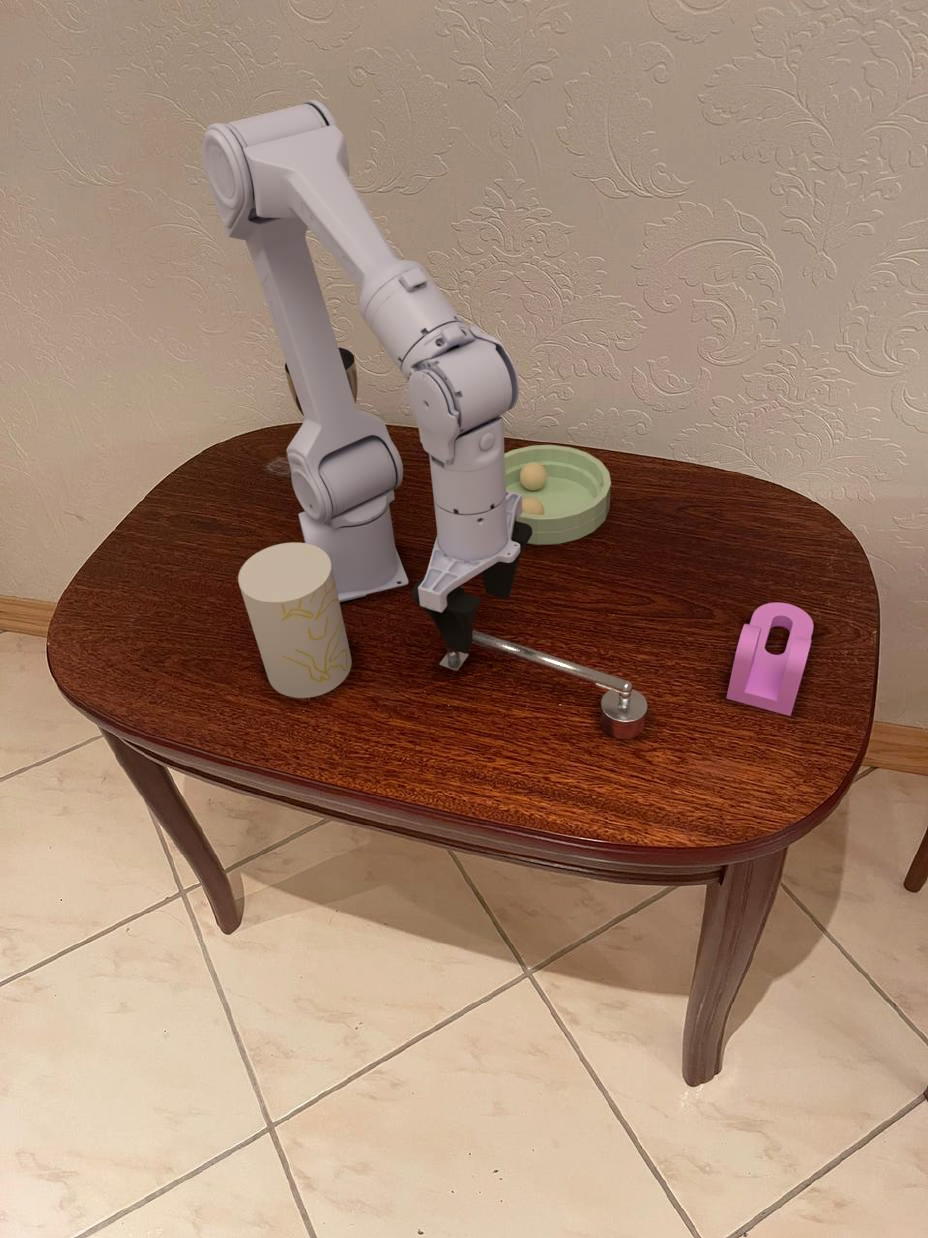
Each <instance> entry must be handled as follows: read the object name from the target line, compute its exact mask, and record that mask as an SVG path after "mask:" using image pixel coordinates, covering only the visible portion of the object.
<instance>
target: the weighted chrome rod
mask: <svg viewBox="0 0 928 1238" xmlns="http://www.w3.org/2000/svg"><path fill="white" fill-rule="evenodd" d="M472 644H473V645H477V646H479V647H482V648H485V649H487V650H488V649H489V650H492V651H494V652H497V653H500V654H503V655H506V656H509V657H512V658H515V659H517V660H521V661H524V662H527V663H530V664H532V665H536V666H539V667H541V668H544V669H548V670H550V671H554V672H557V673H559V674H562V675H565V676H567V677H571V678H574V679H577V680H580V681H583V682H586V683H588V684H591V685H595V686H598V687H601V688H604V689H607V692H605V693H604V694H603V696H602V697H601V699H600V709H599V725H600V727H601V729H602V730H603V732H604V733H606V734H607V735H608V736H610V737H612V738H615V739H618V740H630V739H634V738H636V737H638V736H640V735H641V734H642V733H643V732H644V730H645V729H646V723H647V718H648V717H647V716H648V715H647V714H648V706H649V705H648V701H647V699H646V697H645V696H644V695H643V693H641V692H639V691H638V690H637V689H634V686H633V683H632V682H631V681H630V680H627V679H624V678H622V677H618V676H615V675H612V674H609V673H606V672H603V671H600V670H597V669H594V668H590V667H589V666H588V667H587V666H585V665H582V664H580V663H575V662H572V661H570V660H567V659H564V658H561V657H557V656H554V655H551V654H548V653H545V652H542V651H539V650H536V649H534V648H530V647H527V646H525V645H521V644H518V643H515V642H512V641H508V640H506V639H502V638H500V637H496V636H495V635H491V634H488V633H484V632H481V631H479V630H475V629H473V637H472ZM445 647H446V654H445V655H444V657H443V658H442V659H441V661H440V662H439V663H438V666H440V667H443V668H446V669H448V670H451V671H455V672H458V671H459V670H460V669H461V667H462V666H463V665H464V663H465V662H466V661H467V659H468V658H469V656H470V654H469V653H468V652H467V653H466V654H464V653H462V652H459V651H456V650H453V649H450V648H447V646H446V645H445Z"/></svg>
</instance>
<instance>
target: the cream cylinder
mask: <svg viewBox="0 0 928 1238" xmlns="http://www.w3.org/2000/svg"><path fill="white" fill-rule="evenodd" d="M237 581H238V585H239V586H238V587H239V589H240V592H241V597H242V598H243V599H242V600H243V601H244V605H245V609H246V611H247V615H248V618H249V622H250V625H251V628H252V631H253V634H254V637H255V640H256V644H257V647H258V650H259V654H260V657H261V660H262V664H263V666H264V669H265V670H264V671H265V673H266V676H267V681H268V682H269V684H270V686H271V687H272V688H273V689H274V690H275V691H276V692H278V694H281V695H283V696H286V697H288V698H289V697H290V698H296V699H307V698H308V699H309V698H314V697H319V696H322V695H324V694H328V693H329V692H331V691H333V690H334V689H336V688H337V687H339V686H340V685H341V684H342V683H343V682H344V681H345V680H346V679H347V677H348V675H349V674H350V672H351V668H352V663H353V662H352V661H353V660H352V655H351V650H350V646H349V640H348V637H347V631H346V626H345V622H344V618H343V614H342V608H341V602H339V598H338V593H337V589H336V584H335V579H334V574H333V570H332V565H331V561H330V558H329V556H328V555H327V554H326V553H325V552H324V551H323V550H322V549H320V548H318V547H316V546H314V545H311V544H306V543H305V542H284V543H283V542H282V543H278V544H274V545H272V546H268V547H266V548H263V549H261V550H259V551H258V552H256V553H254V554H253V555H252V556H251V557H249V558H248V559H247V560H246V561H245V562H244V563H243V565H242V566H241V567H240V569H239V572H238V576H237Z"/></svg>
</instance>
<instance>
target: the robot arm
mask: <svg viewBox="0 0 928 1238" xmlns="http://www.w3.org/2000/svg"><path fill="white" fill-rule="evenodd" d="M201 159H202V160H201V161H202V162H201V163H202V168H203V172H204V175H205V178H206V180H207V184H208V186H209V190H210V192H211V196H212V198H213V201H214V204H215V207H216V211H217V213H218V216H219V219H220V221H221V223H222V224H223V227H224V229H225V232H226V236H227V237H228V238H232V239H237V240H241V241H245V243H246V247H247V249H248V253H249V256H250V258H251V261H252V264H253V267H254V270H255V273H256V276H257V279H258V282H259V285H260V288H261V291H262V294H263V297H264V300H265V303H266V306H267V309H268V312H269V315H270V318H271V322H272V324H273V327H274V330H275V333H276V336H277V339H278V342H279V345H280V348H281V352H282V354H283V357H284V360H285V363H287V366H288V369H289V372H290V375H291V378H292V381H293V384H294V387H295V390H296V393H297V396H298V399H299V402H300V405H301V408H302V411H303V414H304V416H303V417H304V421H303V422H302V424H301V426H300V428H299V429H298V430H297V432H296V433H295V435H294V437H293V438H292V440H291V441H289V444H288V446H287V448H286V450H285V451H286V454H287V460H288V464H289V468H290V474H291V475H290V477H291V478H290V479H291V484H292V488H293V491H294V494H295V497H296V499H297V501H298V503H299V504H300V506H301V507H302V509H303V510H304V511H302V512H299V513H297V515H298V519H299V524H300V528H301V529H300V530H301V533H302V537H303V540H304V543H306V544H311V545H314V546H316V547H318V548H320V549H322V550H323V551H324V552H325V553H326V554H327V555H328V556H329V558H330V561H331V565H332V570H333V574H334V579H335V584H336V589H337V593H338V598H339V603H342V602H347V601H352V600H355V599H360V598H364V597H367V595H370V594H374V593H378V592H383V591H387V590H391V589H395V588H396V589H397V588H400V587H404V586H407V585H409V583H410V582H409V579H408V576H407V573H406V571H405V568H404V566H403V563H402V560H401V558H400V555H399V553H398V550H397V548H396V541H395V536H394V528H393V522H392V515H391V508H390V503H392V502H393V501H394V500H396V499H395V498H396V497H395V489H398V488H399V487H400V486H401V485H402V483H403V478H404V477H403V476H404V465H403V461H402V458H401V454H400V453H399V450H398V449H397V446H396V445H395V443H394V442H393V440H392V438H391V436H390V434H389V431H388V428H387V425H386V423H385V421H384V420H383V419H382V418H381V417H379V416H377V415H375V414H373V413H372V412H367V411H365V410H362V409H359V408H357V404H355V401H354V398H353V395H352V391H351V388H350V385H349V381H348V378H347V375H346V371H345V368H344V365H343V361H342V358H341V355H340V351H339V348H338V347H339V345H338V341H337V338H336V335H335V331H334V329H333V325H332V322H331V318H330V316H329V312H328V309H327V305H326V302H325V298H324V296H323V292H322V289H321V285H320V282H319V279H318V276H317V272H316V269H315V265H314V262H313V259H312V255H311V252H310V249H309V245H308V242H307V239H306V235H307V231H308V229H309V230H310V231H311V233H312V234H313V235H314V236H315V238H316V239H317V240H318V241H319V243H321V244H322V246H323V247H324V248H325V249H326V250H327V252H328V253H329V254H330V255H331V256H332V257H333V258H334V260H335V261H336V262H337V263H338V265H340V267H341V268H342V269H343V270H344V271H345V273H346V274H347V275H348V276H349V277H350V279H352V281H353V282H354V283H355V284H356V285H357V287H358V288H359V289H360V295H359V300H358V312H359V314H360V316H361V318H362V319H363V320H364V322H365V323H366V325H367V326H368V328H369V329H370V330H371V332H372V333H373V334H374V336H375V337H376V339H377V340H378V342H379V343H380V344H381V346H382V348H383V349H384V350H385V351H386V353H387V354H388V355H389V357H390V358H391V360H392V361H393V363H394V364H395V365H396V367H397V369H398V370H399V371H400V373H401V374H402V375H403V377H404V379H406V381H407V387H405V388H404V393H405V397H406V401H407V404H408V407H409V410H410V413H411V414H412V416H413V418H414V420H415V422H416V425H417V428H418V433H419V441H420V444H422V448H423V450H424V451H425V452H426V453H427V454H428V456H429V463H430V464H429V465H430V467H429V468H430V476H431V485H432V494H433V496H432V497H433V506H434V514H435V523H436V524H435V525H436V537H435V541H434V544H433V548H432V552H431V555H430V559H429V563H428V566H427V570H426V573H425V575H422V576H421V578H420V579H419V580H418V581H417V582H416V583H415V585H414V586H413V587H412V589H411V591H412V597H413V601H414V602H415V603H416V604H417V605H418V606H419V607H420V608H421V609H422V610H423V611H424V612H425V613H426V614H427V615H428V616H429V618H430V619H431V620H432V622H433V623H434V625H435V627H436V629H437V630H438V632H439V634H440V635H441V638H442V640H443V643H444V644H445V647H446V646H447V648H450V649H453V650H456V651H459V652H462V653H464V654H466V653H467V654H468V652H469V651H470V650H471V647H472V644H473V643H472V637H473V630H474V623H475V622H474V621H475V617H476V613H477V610H478V608H479V606H480V604H481V602H482V601H483V599H484V598H483V597H480V596H476V595H474V594H470V593H467V592H466V591H465V588H464V587H462V585H463V584H465V583H467V582H468V581H470V580H471V579H473V578H474V577H476V576H477V575H479V574H481V577H482V583H483V587H484V590H485V593H486V594H487V595H489V596H492V597H496V598H499V599H502V600H505V601H507V600H508V598H509V597H510V595H511V594H512V593H511V592H512V590H513V585H514V583H515V577H516V573H517V571H518V566H519V562H520V559H521V557H522V555H523V552H524V550H525V548H526V546H527V544H528V543H527V542H528V541H529V539H530V537H531V536H532V527H531V526H530V525H528V524H526V523H522V522H518V521H516V518H518V517H519V516H520V515H521V514H522V495H521V494H517V493H513V492H509V491H506V485H505V459H504V454H505V436H504V435H505V434H504V417H503V416H502V415H505V414H506V413H507V412H508V411H511V410H512V409H513V408H514V407H516V404H517V403H518V401H519V397H520V380H519V376H518V371H517V369H516V368H517V367H516V365H515V363H514V361H513V359H512V357H511V356H510V354H509V352H508V351H507V349H506V347H505V346H504V344H503V343H502V341H500V340H499V339H498V338H497V337H496V336H495V337H494V336H493V335H492V334H489V333H485V332H482V331H481V330H480V329H479V328H478V326H477V325H474V324H470V325H466V324H465V322H464V321H463V319H462V318H461V317H460V315H459V314H458V313H457V311H456V310H455V309H454V307H453V306H452V305H451V303H450V302H449V300H448V299H447V298H446V296H445V295H444V294H443V292H442V291H441V289H440V288H439V287H438V285H437V284H436V283H435V281H434V280H433V279H432V277H431V276H430V274H429V273H428V272H427V270H426V268H424V267H423V265H422V264H421V263H419V262H418V261H414V260H409V259H400V258H398V256H397V254H396V253H395V251H394V249H393V247H392V246H391V244H390V243H389V241H388V239H387V237H386V236H385V234H384V232H383V231H382V229H381V227H380V226H379V224H378V223H377V221H376V219H375V218H374V215H373V214H372V213H371V211H370V209H369V207H368V205H367V204H366V202H365V201H364V199H363V198H362V196H361V194H360V192H359V191H358V190H357V188H356V186H355V184H354V183H353V181H352V179H351V177H350V160H349V153H348V147H347V142H346V138H345V135H344V133H343V132H342V131H341V129H340V127H339V124H338V122H337V120H336V118H335V117H334V115H333V114H332V112H331V111H329V109H328V108H327V107H326V106H325V105H324V104H323V103H322V102H320V101H318V100H316V99H310V100H309V99H308V100H305V101H303V102H302V103H301V104H298V105H294V106H289V107H286V108H282V109H278V110H273V111H270V112H265V113H262V114H257V115H253V116H250V117H246V118H242V119H238V120H233V121H229V122H225V123H222V122H215V123H212V124H209V125H208V127H207V128H206V130H205V133H204V138H203V142H202V158H201ZM447 648H446V649H447Z"/></svg>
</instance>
